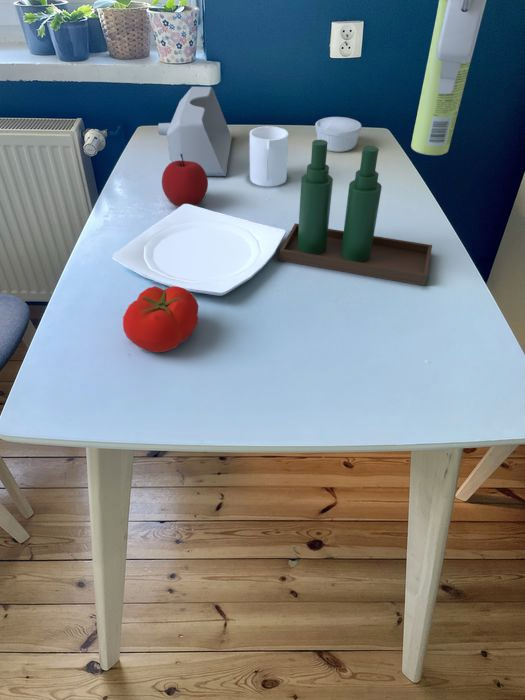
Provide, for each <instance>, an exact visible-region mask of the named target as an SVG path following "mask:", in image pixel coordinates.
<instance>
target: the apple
mask: <svg viewBox="0 0 525 700" xmlns="http://www.w3.org/2000/svg"><path fill="white" fill-rule="evenodd" d="M180 155H181V158H182V161H174V162H172V161H171V162H170V163H168V165H167V166H165V169H163V173H162V176H161V188H162V192H163V194H164V195H165V197H166V198H167V200H168V201H169V202H170V203H171V204H172V205H173V206H175V207H178V208H179V207H180V206H182V205H183V204H190V205H193V206H199V205H200V204H201V203H202V202H203V200H204V199H205V197H206V195H207V192H208V188H209V180H208V176H206V173H205V171H204V169H203V168H202V167H201V165H199V164H198V163H196V162H191V161H183V156H182V154H180Z"/></svg>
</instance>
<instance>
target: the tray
mask: <svg viewBox="0 0 525 700" xmlns="http://www.w3.org/2000/svg"><path fill="white" fill-rule="evenodd" d="M298 229H299V223H296V222H295V223H294V224H293V226H292V228H291V230H290V232H289V233H288V235H287V236H286V238H285V240H284V242H283V244H282V245H281V248H279V261H281V262H285V263H291V264H297V265H303V266H309V267H315V268H320V269H326V270H331V271H337V272H342V273H348V274H354V275H358V276H359V275H361V276H366V277H370V278H371V277H372V278H377V279H382V280H388V281H389V280H390V281H394V282H400V283H406V284H411V285H417V286H422V287H425V286H426V284H427V283H426V282H427V279H428V273H429V269H430V268H429V267H430V262H431V261H430V260H431V256H432V255H431V254H432V249H433V245H432V244H427V243H422V242H415V241H408V240H402V239H396V238H390V237H384V236H378V235H374V237H373V244H372V250H371V256H370V258H369V260H367V261H365V262H355V261H350V260H345V259H344V258H343V257H342V256H341V249H342V241H343V232H344V230H339V229H334V228H328V236H327V246H326V250H325V252H323V253H322V254H319V255H314V254H309V253H303V252H300V251H299V250H298V247H297V246H298Z"/></svg>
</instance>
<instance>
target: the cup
mask: <svg viewBox="0 0 525 700" xmlns="http://www.w3.org/2000/svg"><path fill="white" fill-rule="evenodd" d="M288 151H289V131H288V130H287V129H285V128H283V127H280V126H279V127H278V126H272V125H271V126H270V125H266V126H265V125H264V126H259V127H254V128H253V129H251V130H250V131H249V180H250V182H251V183H253V184H254V185H256V186H259V187H269V188H270V187H277V186H282V185H283V184H285V183H286V182H287V174H288Z"/></svg>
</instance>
